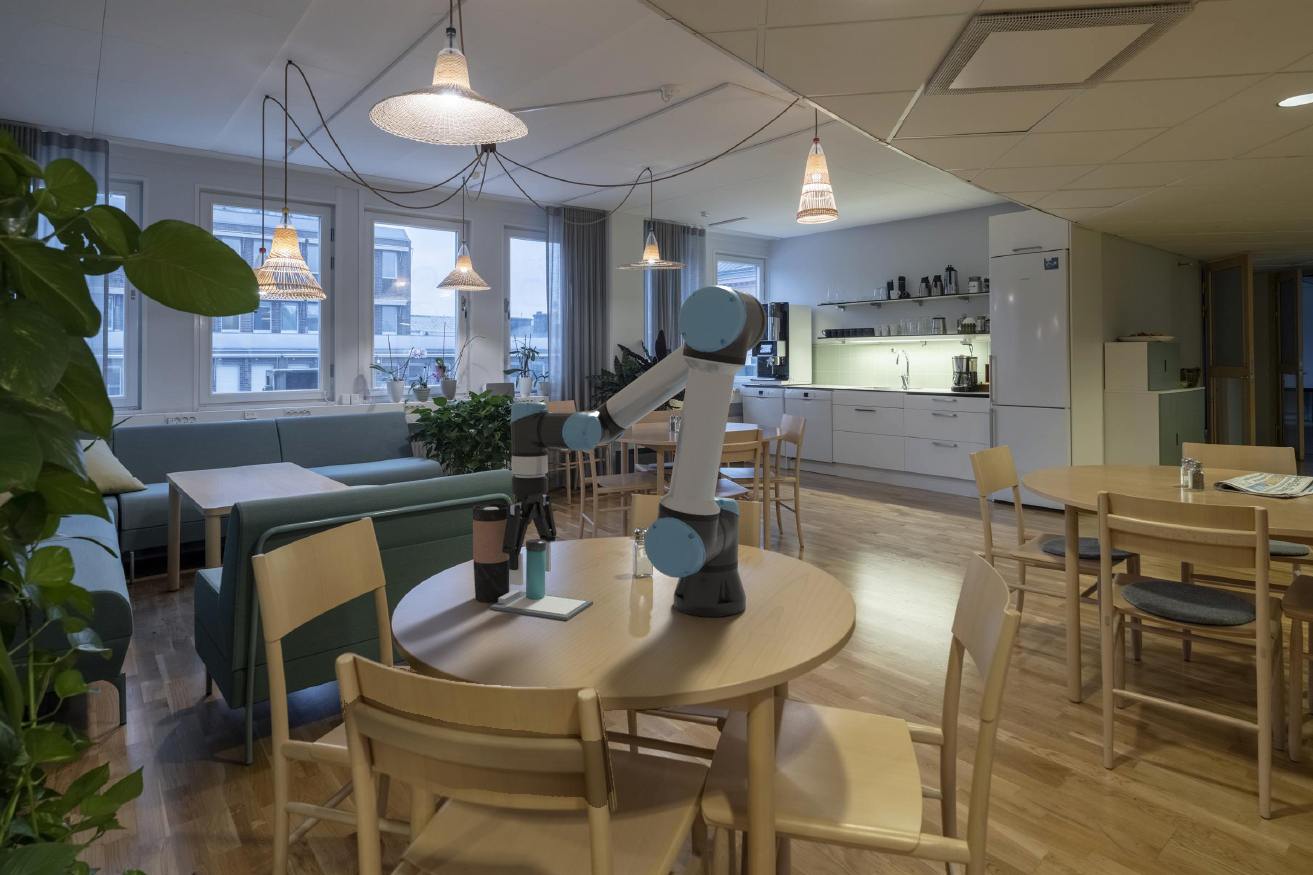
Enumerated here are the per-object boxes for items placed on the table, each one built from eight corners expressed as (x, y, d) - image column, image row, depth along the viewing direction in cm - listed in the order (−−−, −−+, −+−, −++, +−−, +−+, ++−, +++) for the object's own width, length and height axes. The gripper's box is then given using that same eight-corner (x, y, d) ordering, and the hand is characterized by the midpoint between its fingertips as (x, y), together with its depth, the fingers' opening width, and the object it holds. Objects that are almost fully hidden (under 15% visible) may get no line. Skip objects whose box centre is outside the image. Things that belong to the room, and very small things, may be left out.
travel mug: (501, 604, 154) (500, 510, 152) (467, 602, 155) (465, 509, 153) (516, 593, 161) (514, 504, 159) (483, 591, 163) (482, 502, 161)
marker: (549, 595, 158) (550, 541, 156) (536, 601, 154) (537, 545, 153) (534, 591, 160) (535, 538, 158) (521, 597, 156) (521, 542, 155)
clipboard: (592, 603, 155) (592, 596, 154) (567, 620, 144) (567, 612, 144) (519, 593, 161) (519, 586, 161) (490, 608, 151) (490, 601, 151)
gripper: (542, 467, 167) (543, 562, 169) (482, 481, 146) (484, 590, 148) (571, 469, 164) (572, 565, 166) (514, 484, 143) (516, 594, 145)
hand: (531, 577), depth 157 cm, fingers open, 10 cm apart
